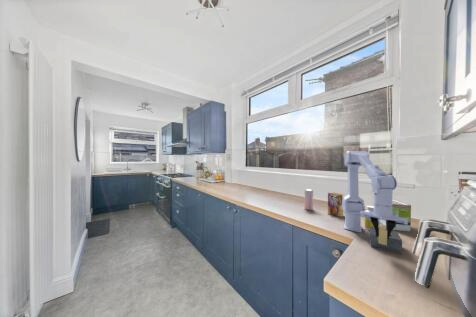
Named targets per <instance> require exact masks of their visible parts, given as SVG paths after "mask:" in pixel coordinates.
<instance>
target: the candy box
mask: <svg viewBox="0 0 476 317" xmlns="http://www.w3.org/2000/svg"><path fill="white" fill-rule="evenodd" d="M343 198H344V193H341V192H340V193H339V192H331V191H329V192H327V214H328V215H331V216H336V217H339V218H340V217H341V218H342V217H344V211H343V209H342V199H343Z"/></svg>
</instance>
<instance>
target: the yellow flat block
mask: <svg viewBox="0 0 476 317" xmlns="http://www.w3.org/2000/svg"><path fill="white" fill-rule="evenodd" d="M378 233H379V235H378V237H377V239H378V243H379V244H383V245H387V229H386V226H384V225H382V224H380V225H378Z"/></svg>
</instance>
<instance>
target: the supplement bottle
mask: <svg viewBox="0 0 476 317" xmlns="http://www.w3.org/2000/svg"><path fill="white" fill-rule="evenodd" d="M366 209H367V210H366ZM366 209H365V211H364V212H374V205H366ZM378 222H379V225H381V223H380V219H378ZM370 226H371V227H374V226H373V224H372V222H371V219H370V218H369V217H364V228H365V230H367V231H370Z"/></svg>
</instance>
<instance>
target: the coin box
mask: <svg viewBox="0 0 476 317" xmlns="http://www.w3.org/2000/svg"><path fill="white" fill-rule="evenodd" d="M369 243H370V246H371V248H375V249H378V250H381V251H385V252H389V253H394V254H399V255H402V254H403V239H402V238H401V236H400V234H399V233H398V230H392V231H391V233H390V236H389V239H387V245H383V244H379V243H378V239H377V237H376V232H375V228H374V227H371V226H370V230H369Z"/></svg>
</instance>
